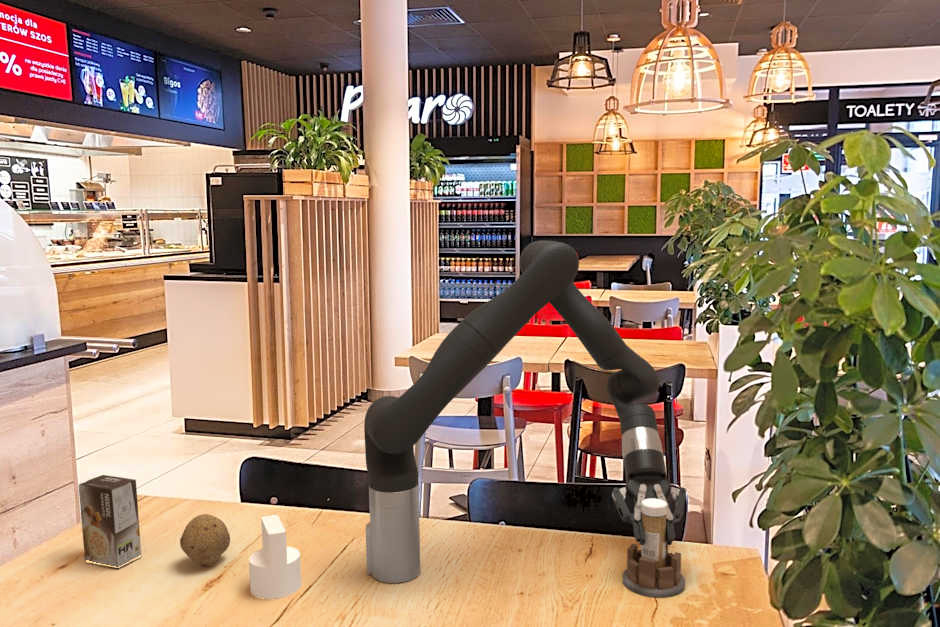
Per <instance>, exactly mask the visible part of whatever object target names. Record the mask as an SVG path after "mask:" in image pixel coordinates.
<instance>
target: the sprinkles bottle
mask: <svg viewBox="0 0 940 627" xmlns="http://www.w3.org/2000/svg"><path fill="white" fill-rule="evenodd" d="M667 503H668V502H667ZM667 503H666V502H665V501H663V500H660V499H655V498H650V499H645V500H643V501H642V502H641V512H642V515H641V521H642V522H643V529H644V536H645V543H644V545H640V547H641V548H640V549H641V557H642V558H647V559H652V560H656V578H657V568H663V567H665V557H666V514H667Z"/></svg>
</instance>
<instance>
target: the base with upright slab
mask: <svg viewBox="0 0 940 627" xmlns="http://www.w3.org/2000/svg"><path fill="white" fill-rule="evenodd" d="M260 521H261V538H262V539H261V542H262V548H261V549H258V550H256V551H254V552H253V553H252V554H250V556H249V558H248V569H249V585H250V587H249V588H250V594H251V593H252V594H253V595H255V596H256V597H259V598H264V599H275V600H277V599H276V598H281V599H283V598H282V597H285V598H287V597H286V596H288V597H290V596H289V595H291V594H293V593H295V592H296V591H297V590H298V589H299V588H300V587H301V588H302V570H301V567H302V566H301V553H300V550H299V549H297V548H295V547H293V546H288V545H287V530H286V529H285V527H284V524H283V522H282V521H281V519H280V517H279V515H278V514H273V515H266V516H262V517H261V518H260ZM301 588H300V589H301ZM300 589H299V590H300ZM299 590H298V591H299ZM296 593H297V592H296ZM296 593H295V594H296ZM252 594H251V595H252ZM253 595H252V596H253ZM293 595H294V594H293ZM291 596H292V595H291ZM256 597H255V598H256ZM259 598H258V599H259ZM264 599H263V600H264Z"/></svg>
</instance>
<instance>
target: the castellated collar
mask: <svg viewBox="0 0 940 627" xmlns="http://www.w3.org/2000/svg"><path fill="white" fill-rule="evenodd" d="M626 552H627V554H626V555H627V559H626V560H627V561H626V562H627V563H626V569H625V570H624V571H623V573H622V584H623V586H624V587H625V588H627V589H628V590H629V591H631V592H632V593H635V594H638V595H640V596H644V597H649V598H657V599H658V598H662V599H663V598H669V597H670V598H671V597H674V596H678V595H679V594H681V593H683V592H684V590H685V588H686V579H685V576H684V575H683V574H682V568H681V567H682V553H681V552H679V551H678V552H677V551H674V553H673V552H669V545H667V544H666V557H665V567H663V568H657V578H656V560H652V559H647V558H642V557H641V548H640V549H638V544H637V543H636V544H635V543H631V544H630V546H629V547H628V548H627V551H626Z"/></svg>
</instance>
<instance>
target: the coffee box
mask: <svg viewBox="0 0 940 627" xmlns="http://www.w3.org/2000/svg"><path fill="white" fill-rule="evenodd" d="M137 489H138V488H137V479H134V478H128V477H126V478H125V477H121V476H120V477H119V476H113V475H107V474H106V475H105V474H102V475H99V476H96V477H93V478H91V479H88V480H87V481H85V482H81V483H80V484H79V483H78V495H79V504H80V505H79V506H80V517H81V529H82V541H83V542H82V543H83V553H84V561H85V560H89V561H92V562H96V563H101V564H106V565H111V566H116V567H119V566H121V565H123V564H125V563H127V562H129V561H130V560H132V559H134V558H136V557H138V556H139V555H141V556H142V547H141V534H140V531H141V530H140V520H139V519H140V518H139V507H138V506H139V505H138V504H139V503H138V491H137Z"/></svg>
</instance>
